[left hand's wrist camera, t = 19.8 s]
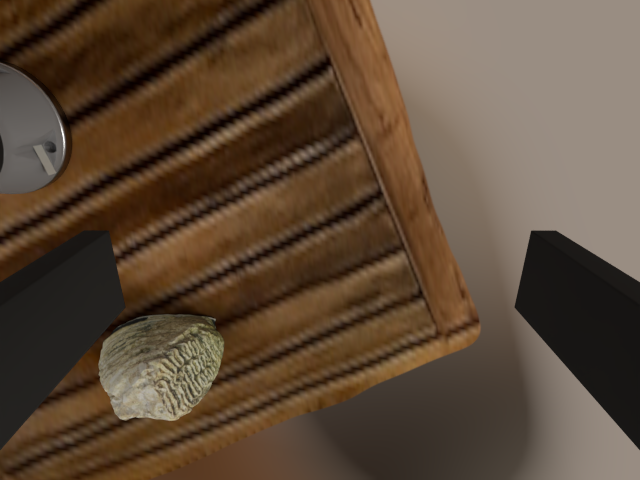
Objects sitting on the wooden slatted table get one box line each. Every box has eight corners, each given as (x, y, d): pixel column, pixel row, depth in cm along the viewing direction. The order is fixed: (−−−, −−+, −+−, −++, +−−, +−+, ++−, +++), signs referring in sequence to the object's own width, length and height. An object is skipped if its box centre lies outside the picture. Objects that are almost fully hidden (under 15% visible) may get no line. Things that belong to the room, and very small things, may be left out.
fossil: (240, 339, 58) (215, 419, 44) (132, 372, 60) (75, 459, 46) (214, 290, 55) (178, 360, 41) (101, 327, 57) (31, 405, 43)
